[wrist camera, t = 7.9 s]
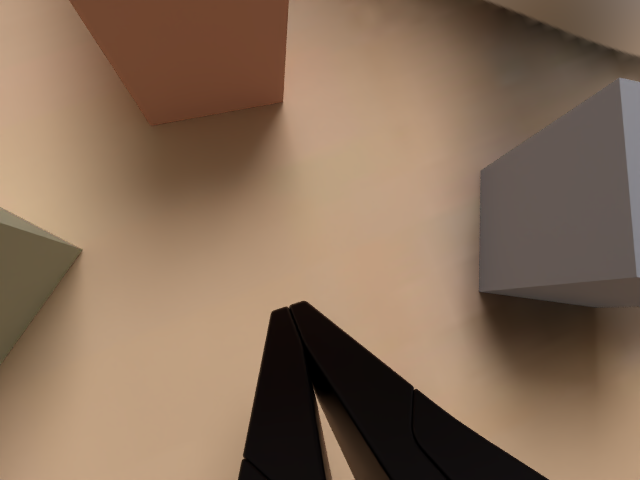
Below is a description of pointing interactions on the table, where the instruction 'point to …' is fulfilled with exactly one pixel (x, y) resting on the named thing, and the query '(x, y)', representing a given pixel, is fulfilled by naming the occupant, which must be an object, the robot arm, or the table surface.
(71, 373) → the table surface
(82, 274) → the table surface
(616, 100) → the slate block
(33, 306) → the sage block
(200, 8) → the terracotta block
